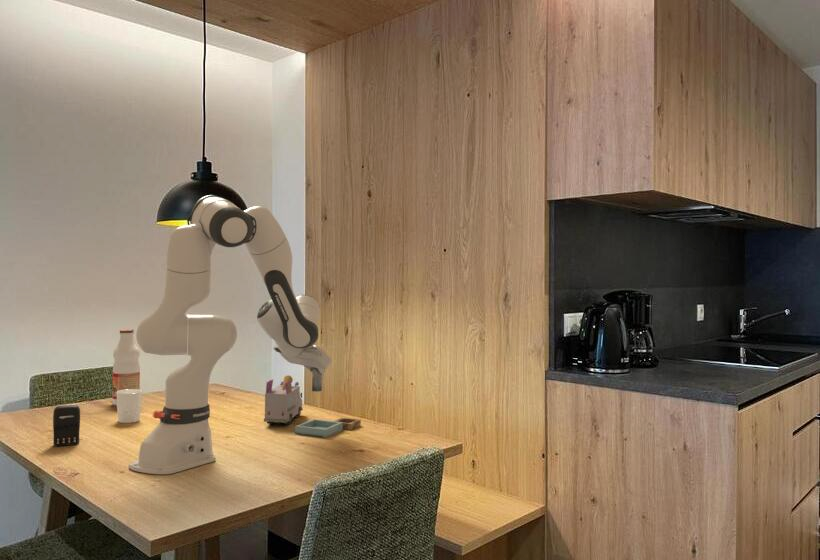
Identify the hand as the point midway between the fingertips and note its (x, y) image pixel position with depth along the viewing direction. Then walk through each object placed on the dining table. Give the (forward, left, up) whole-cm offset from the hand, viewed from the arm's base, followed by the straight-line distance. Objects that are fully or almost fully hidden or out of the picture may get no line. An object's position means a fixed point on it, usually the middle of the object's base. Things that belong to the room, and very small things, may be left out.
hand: (318, 371), depth 207 cm
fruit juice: (+4, +85, -19) cm, 87 cm away
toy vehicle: (+7, +17, -19) cm, 27 cm away
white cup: (-16, +63, -19) cm, 68 cm away
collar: (+9, -6, -19) cm, 22 cm away
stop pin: (-1, 0, -6) cm, 6 cm away
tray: (-1, -1, -19) cm, 19 cm away
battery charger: (-46, +56, -19) cm, 75 cm away
